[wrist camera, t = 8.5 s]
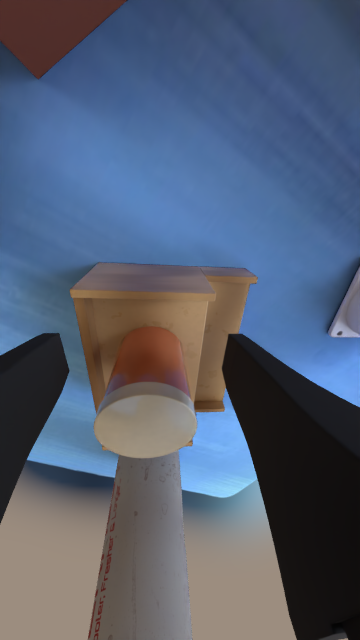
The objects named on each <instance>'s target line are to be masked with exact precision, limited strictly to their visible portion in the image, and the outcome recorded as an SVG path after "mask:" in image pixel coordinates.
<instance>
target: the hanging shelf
mask: <svg viewBox="0 0 360 640" xmlns="http://www.w3.org/2000/svg"><path fill="white" fill-rule="evenodd" d="M126 1H127V0H0V41H1V42H2V43H3V44H4V45H5V46H6V47H7V48H8V49H9V50H10V51H11V52H12V53H13V54H14V55H15V56H16V57H17V58H18V59H19V60H20V61H21V62H22V63H23V64H24V65H25V66H26V67H27V69H28V70H29V71H30V72H31V73H32V74H33V75H34V76H35V77H36V78H37V79H39V78H40V77H42V76H43V75H44V74H45V73H46V72H47V71H48V70H49V69H50V68H51V67H52V66H54V65H55V64H56V63H57V62H58V61H59V60H60V59H61V58H63V57H64V56H65V55H66V54H67V53H68V52H69V51H71V50H72V49H73V48H74V47H75V46H76V45H77V44H78V43H80V42H81V41H82V40H83V39H84V38H85V37H86V36H87V35H89V34H90V33H91V32H92V31H93V30H94V29H95V28H96V27H98V26H99V25H100V24H101V23H102V22H103V21H104V20H105V19H107V18H108V17H109V16H110V15H111V14H112V13H113V12H114V11H116V10H117V9H118V8H119V7H120V6H121V5H122V4H123V3H125V2H126Z"/></svg>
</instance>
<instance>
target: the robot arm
mask: <svg viewBox="0 0 360 640" xmlns="http://www.w3.org/2000/svg"><path fill="white" fill-rule="evenodd" d="M328 335H330V336H331V337H360V267H359V269H358V271H357V273H356V275H355V277H354V279H353V281H352V283H351V285H350V287H349V290H348V292H347V294H346V296H345V298H344V300H343V302H342V304H341V306H340V308H339V310H338V312H337V314H336V316H335V319H334V321H333V323H332V325H331V327H330V329H329V331H328ZM68 373H69V368H68V364H67V360H66V356H65V353H64V349H63V345H62V342H61V338H60V334H59V333H43V334H41V335H39V336H36V337H34V338H32V339H31V340H29V341H27V342H25V343H23V344H21V345H19V346H17V347H16V348H14V349H12V350H10V351H8V352H6V353H5V354H3V355H1V356H0V523H1V521H2V518H3V516H4V513H5V511H6V508H7V505H8V503H9V500H10V498H11V495H12V493H13V490H14V488H15V485H16V483H17V481H18V478H19V476H20V474H21V471H22V469H23V467H24V464H25V462H26V460H27V458H28V456H29V454H30V452H31V450H32V448H33V446H34V444H35V442H36V440H37V438H38V436H39V434H40V433H41V431H42V429H43V427H44V425H45V423H46V421H47V419H48V418H49V416H50V414H51V412H52V410H53V408H54V406H55V404H56V402H57V400H58V399H59V397H60V395H61V393H62V390H63V387H64V385H65V382H66V379H67V376H68ZM222 373H223V377H224V381H225V385H226V389H227V392H228V394H229V397H230V400H231V402H232V405H233V408H234V410H235V413H236V415H237V418H238V420H239V423H240V426H241V428H242V431H243V433H244V436H245V439H246V441H247V444H248V447H249V450H250V454H251V457H252V461H253V464H254V468H255V471H256V475H257V479H258V482H259V486H260V490H261V494H262V497H263V501H264V505H265V509H266V513H267V517H268V521H269V525H270V529H271V534H272V538H273V542H274V546H275V551H276V555H277V560H278V564H279V569H280V573H281V578H282V582H283V587H284V592H285V597H286V601H287V606H288V611H289V615H290V619H291V622H292V625H293V629H294V631H295V635H296V638H297V640H338V639H344V638H348V640H360V407H358V406H356V405H354V404H352V403H350V402H348V401H346V400H344V399H342V398H340V397H338V396H336V395H335V394H333V393H331V392H329V391H328V390H326V389H324V388H322V387H320V386H319V385H317V384H315V383H314V382H312V381H310V380H309V379H307V378H305V377H304V376H302V375H301V374H299V373H298V372H296V371H295V370H293V369H291V368H290V367H288V366H287V365H286V364H284V363H283V362H281V361H280V360H278V359H277V358H275V357H274V356H273V355H271V354H270V353H268V352H267V351H266V350H264V349H263V348H262V347H260V346H259V345H258V344H256V343H255V342H253V341H252V340H251V339H249V338H248V337H246V336H245V335H243V334H228V339H227V344H226V349H225V354H224V359H223V364H222Z"/></svg>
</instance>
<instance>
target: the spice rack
mask: <svg viewBox="0 0 360 640" xmlns="http://www.w3.org/2000/svg"><path fill="white" fill-rule="evenodd" d="M257 279H258V277H257V276H255V275H254V274H252V273H251V272H250V271H248V270H247V269H246V268H223V267H198V266H174V265H150V264H127V263H103V262H99V263H98V264H97V265H95V266H94V267H93V268H92V269H91V270H90V271H89V272H88V273H87V274H86V275H85V276H84V277H83V278H82V279H80V280H79V281H78V282H77V283H76V284H75V285H74V286H73V287H72V288H71V289H70V295H71V298H73V301H74V306H75V310H76V315H77V320H78V325H79V330H80V335H81V340H82V345H83V350H84V355H85V360H86V365H87V370H88V375H89V380H90V385H91V390H92V395H93V400H94V404H95V409H96V414H97V411H98V408H99V406H100V404H101V402H102V401H103V398H104V395H105V392H106V388H107V385H108V381H109V378H110V375H111V371H112V368H113V364H114V361H115V358H116V354H117V351H118V347H119V344H120V342H121V341H122V339H123V338H124V337H125V336H126V335H127V334H128V333H130V332H131V331H133V330H135V329H138V328H141V327H147V326H154V327H161V328H164V329H166V330H169V331H170V332H172V333H173V334H175V335H176V336H177V337H178V338H179V340H180V341H181V343H182V346H183V350H184V356H185V362H186V368H187V375H188V381H189V387H190V394H191V400H192V402H193V404H194V407H195V412H224V410H225V407H224V404H223V397H224V392H225V388H226V385H225V381H224V377H223V373H222V364H223V359H224V354H225V349H226V344H227V339H228V334H238V333H239V329H240V325H241V320H242V316H243V312H244V308H245V303H246V299H247V295H248V291H249V287H250V283H251V284H256V283H257ZM192 444H193V442H192V439H191V441H190V442H189V443H188V444H186V445H185V446H192ZM102 449H103V450H108V449H107V448H105V447H104V446H103V445H102Z"/></svg>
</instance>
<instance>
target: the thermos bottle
mask: <svg viewBox="0 0 360 640" xmlns="http://www.w3.org/2000/svg"><path fill="white" fill-rule="evenodd" d="M88 640H192V630H191V615H190V602H189V587H188V574H187V560H186V549H185V540H184V530H183V512H182V492H181V477H180V463H179V450H177V451H175V452H173V453H171V454H168V455H164V456H160V457H154V458H132V457H126V456H122V455H119V457H118V463H117V469H116V475H115V481H114V487H113V493H112V499H111V504H110V511H109V516H108V523H107V529H106V534H105V540H104V546H103V552H102V559H101V564H100V571H99V577H98V582H97V589H96V594H95V600H94V606H93V612H92V618H91V624H90V630H89V636H88Z"/></svg>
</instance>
